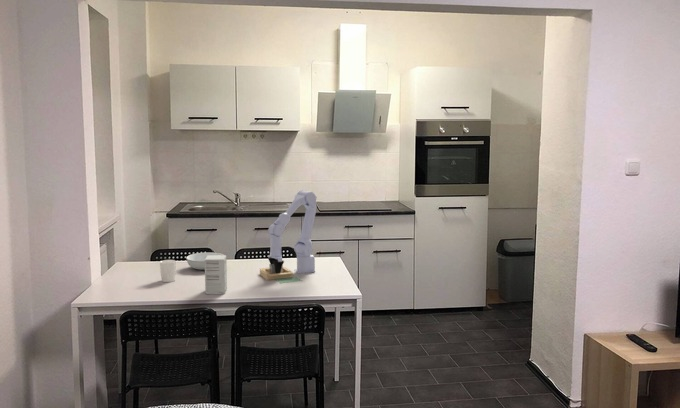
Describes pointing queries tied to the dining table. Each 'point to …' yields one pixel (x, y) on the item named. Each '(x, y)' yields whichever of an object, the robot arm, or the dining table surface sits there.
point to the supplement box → (215, 274)
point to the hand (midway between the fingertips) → (276, 272)
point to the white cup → (168, 270)
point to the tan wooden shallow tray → (266, 274)
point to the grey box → (272, 269)
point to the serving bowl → (199, 260)
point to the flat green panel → (288, 280)
